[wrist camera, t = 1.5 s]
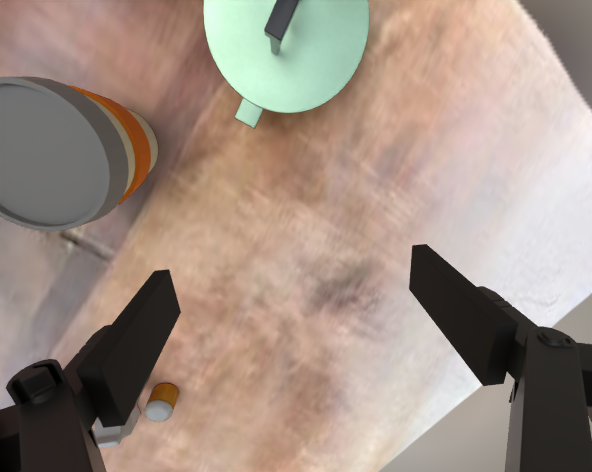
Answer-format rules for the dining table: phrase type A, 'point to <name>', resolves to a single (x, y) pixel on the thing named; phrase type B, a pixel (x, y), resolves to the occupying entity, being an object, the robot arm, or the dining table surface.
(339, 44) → the lid
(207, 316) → the dining table surface
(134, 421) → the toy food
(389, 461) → the dining table surface
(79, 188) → the reusable coffee cup
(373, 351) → the dining table surface
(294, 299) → the dining table surface
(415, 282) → the robot arm
